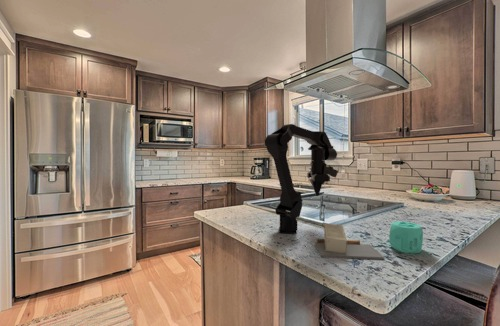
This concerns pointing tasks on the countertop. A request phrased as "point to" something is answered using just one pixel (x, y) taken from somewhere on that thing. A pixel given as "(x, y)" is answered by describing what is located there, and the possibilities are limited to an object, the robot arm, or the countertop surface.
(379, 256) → the rubber mat
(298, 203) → the robot arm
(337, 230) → the skincare box
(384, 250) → the countertop surface
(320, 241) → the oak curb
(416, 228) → the decorative dice
